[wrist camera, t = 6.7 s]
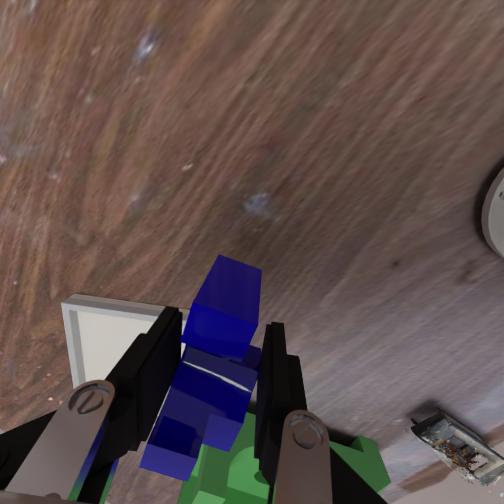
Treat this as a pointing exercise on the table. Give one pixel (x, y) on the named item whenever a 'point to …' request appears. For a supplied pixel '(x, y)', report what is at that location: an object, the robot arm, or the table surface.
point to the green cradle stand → (250, 478)
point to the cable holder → (210, 372)
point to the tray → (104, 332)
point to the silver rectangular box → (451, 426)
